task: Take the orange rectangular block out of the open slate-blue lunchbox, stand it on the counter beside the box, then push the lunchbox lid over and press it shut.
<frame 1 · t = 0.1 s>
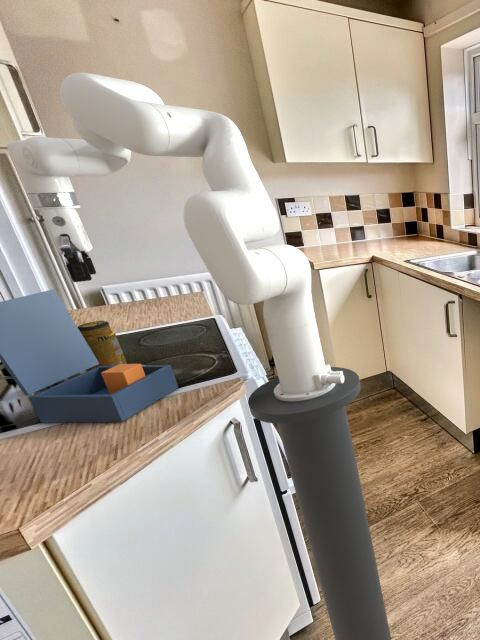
hand: (85, 277, 100), 21 cm above the worktop, tool pointing down, fingers open, 9 cm apart
condiment: (115, 373, 98), on the worktop
orange rectangular block: (134, 400, 83), point 1 cm above the worktop, touching lunchbox
lunchbox: (114, 403, 84), on the worktop
lid: (31, 341, 79), point 13 cm above the worktop, hinge at 100.0°
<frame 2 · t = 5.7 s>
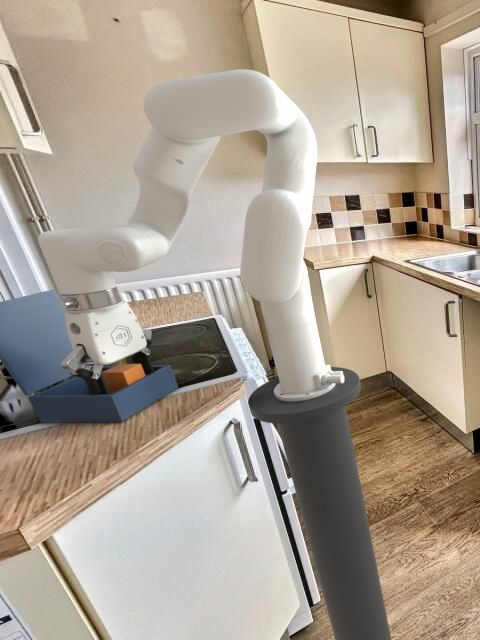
hand: (125, 384, 82), 4 cm above the worktop, tool pointing down, fingers open, 9 cm apart
nothing on the worktop moved.
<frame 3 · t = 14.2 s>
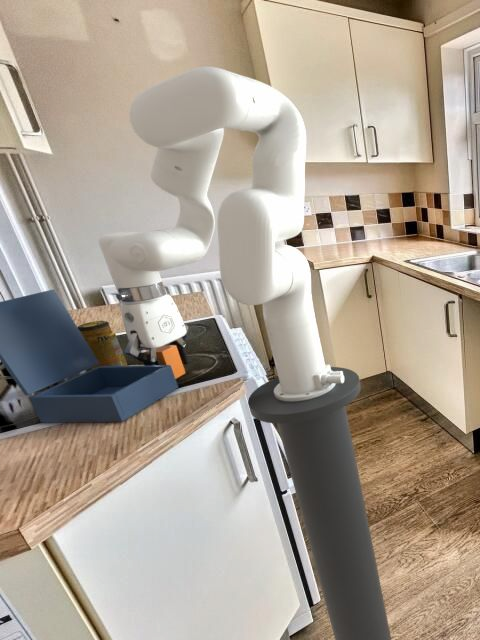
hand: (170, 369, 95), 2 cm above the worktop, tool pointing down, fingers open, 6 cm apart
orange rectangular block: (169, 377, 95), on the worktop
everything else where it was.
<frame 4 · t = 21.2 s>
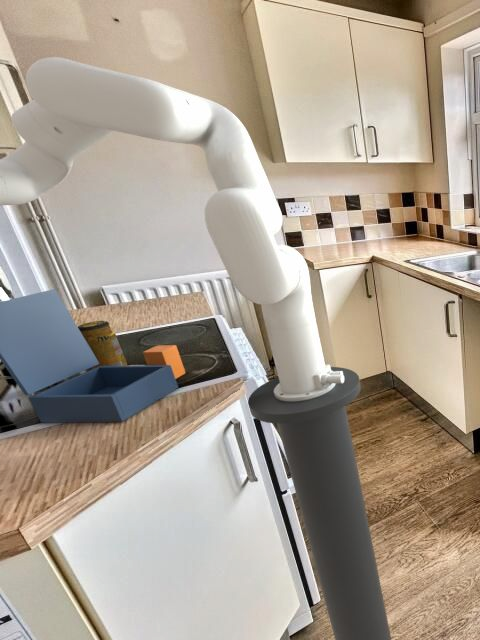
lid: (31, 341, 79), point 14 cm above the worktop, hinge at 99.4°, touching gripper
everything else where it was.
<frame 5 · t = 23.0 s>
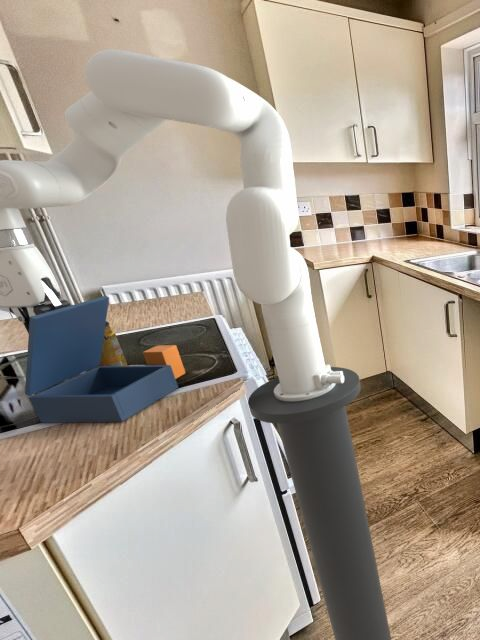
hand: (45, 339, 79), 14 cm above the worktop, tool pointing down, fingers closed
lid: (58, 339, 79), point 14 cm above the worktop, hinge at 62.1°, touching gripper
everything else where it was.
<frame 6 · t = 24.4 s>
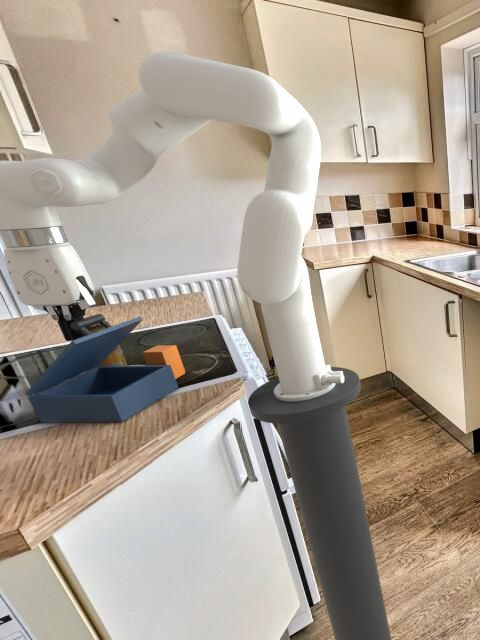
hand: (78, 338, 79), 14 cm above the worktop, tool pointing down, fingers closed
lid: (78, 347, 80), point 12 cm above the worktop, hinge at 37.4°, touching gripper
everything else where it was.
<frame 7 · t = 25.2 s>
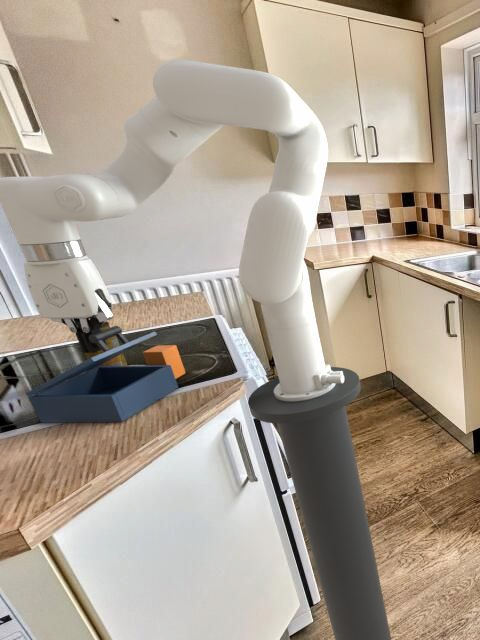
hand: (95, 350, 80), 12 cm above the worktop, tool pointing down, fingers closed
lid: (88, 353, 80), point 11 cm above the worktop, hinge at 24.1°, touching gripper
everything else where it was.
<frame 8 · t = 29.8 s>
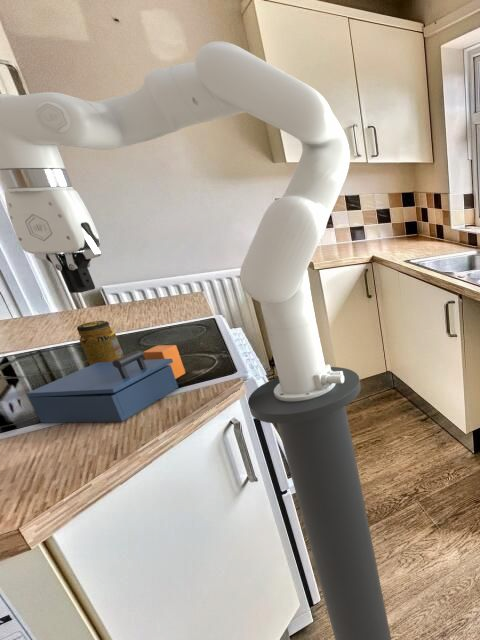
hand: (83, 290, 75), 23 cm above the worktop, tool pointing down, fingers closed
lid: (101, 367, 81), point 8 cm above the worktop, hinge at 2.2°
everything else where it was.
at the end: orange rectangular block inside the target area (0.4 cm from its centre), on the worktop; orange rectangular block tilted 0°; lid at +2° (first picture: +100°) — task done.
